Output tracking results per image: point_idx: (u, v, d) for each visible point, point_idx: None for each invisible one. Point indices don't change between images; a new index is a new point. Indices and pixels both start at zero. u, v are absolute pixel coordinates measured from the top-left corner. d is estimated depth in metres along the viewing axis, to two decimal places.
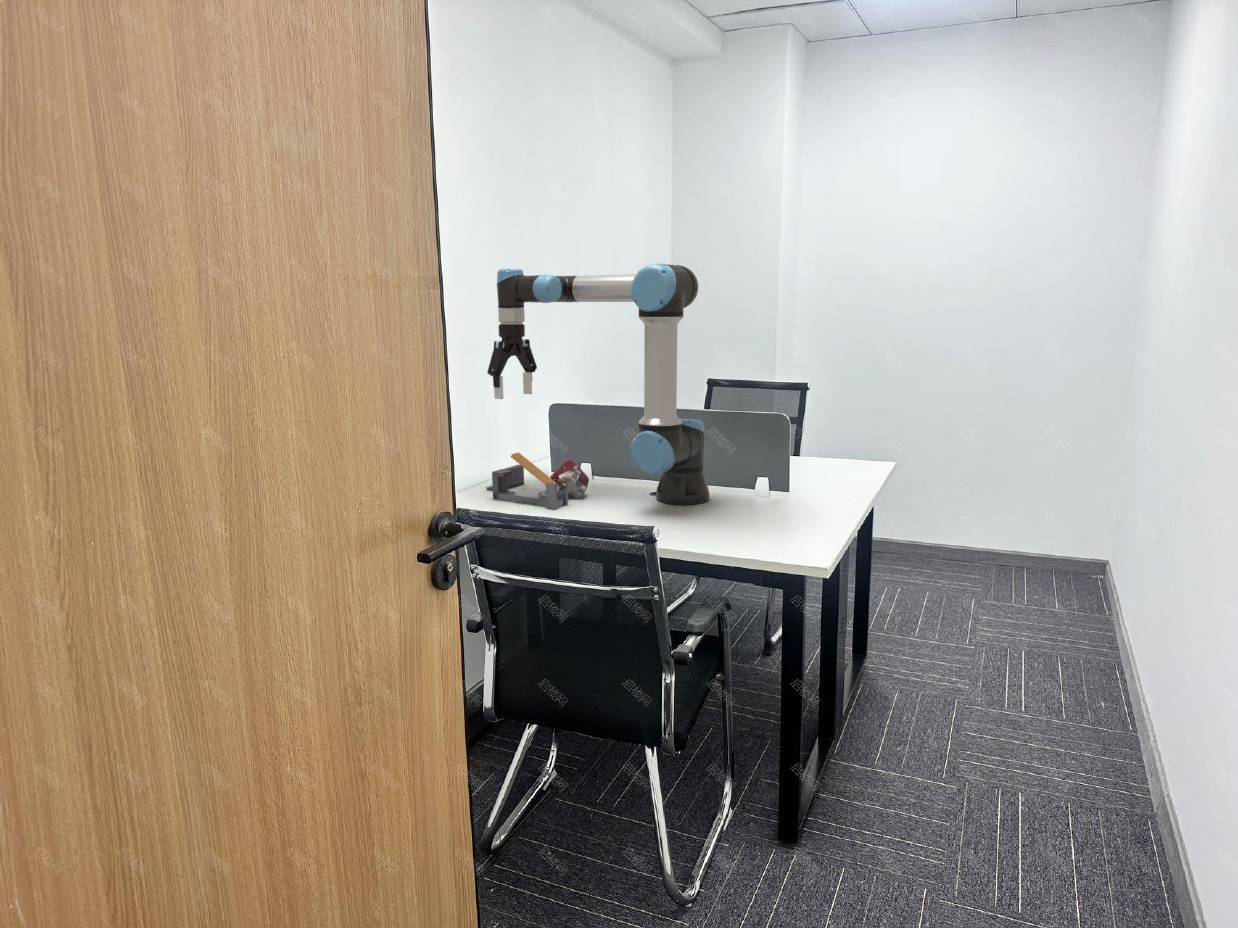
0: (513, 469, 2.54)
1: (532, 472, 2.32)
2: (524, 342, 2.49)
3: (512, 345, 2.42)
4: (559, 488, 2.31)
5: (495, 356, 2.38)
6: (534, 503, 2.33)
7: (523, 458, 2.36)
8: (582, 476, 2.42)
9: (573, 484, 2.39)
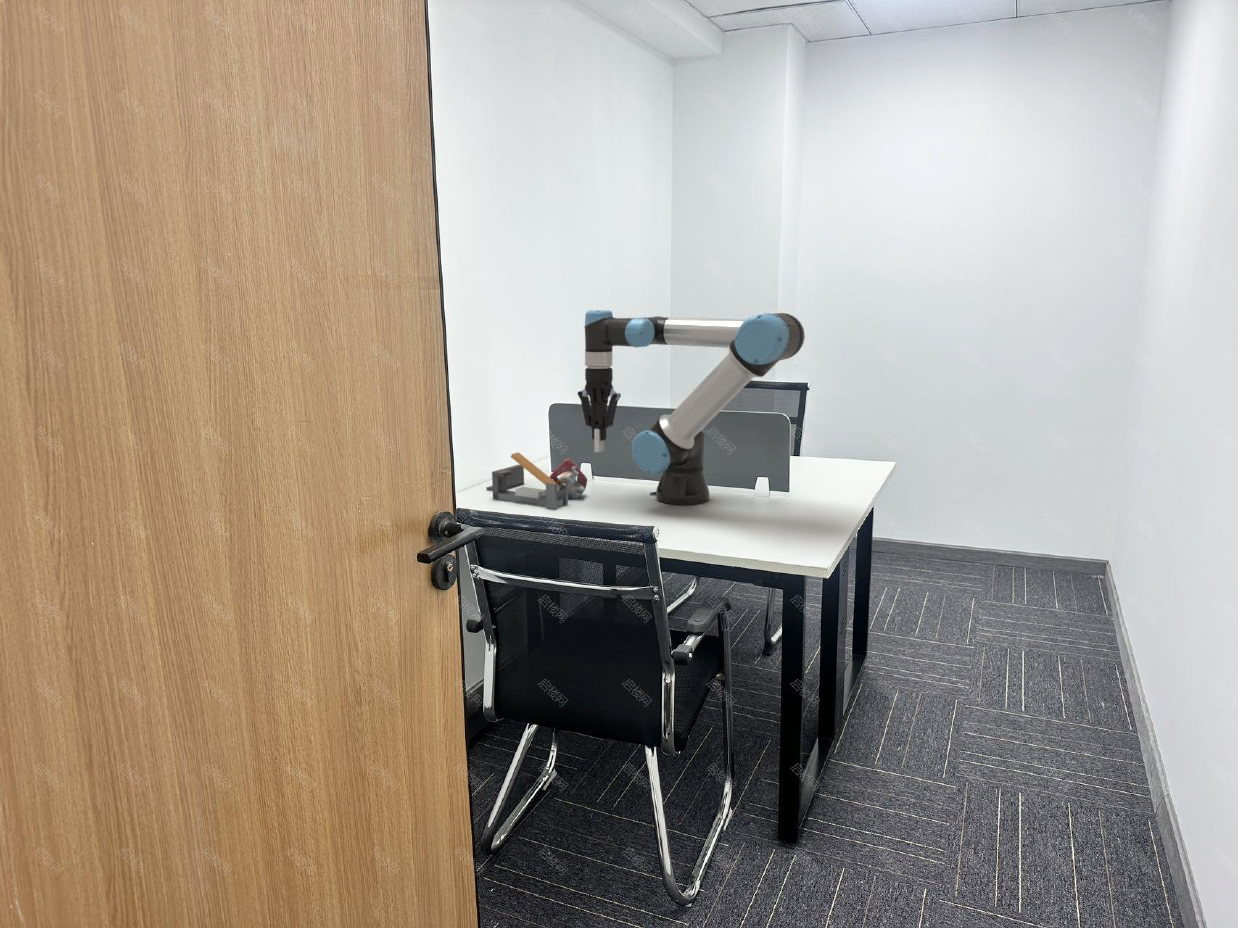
0: (513, 469, 2.54)
1: (532, 472, 2.32)
2: (612, 394, 2.30)
3: None
4: (559, 488, 2.31)
5: None
6: (534, 503, 2.33)
7: (523, 458, 2.36)
8: (580, 477, 2.42)
9: (571, 485, 2.38)
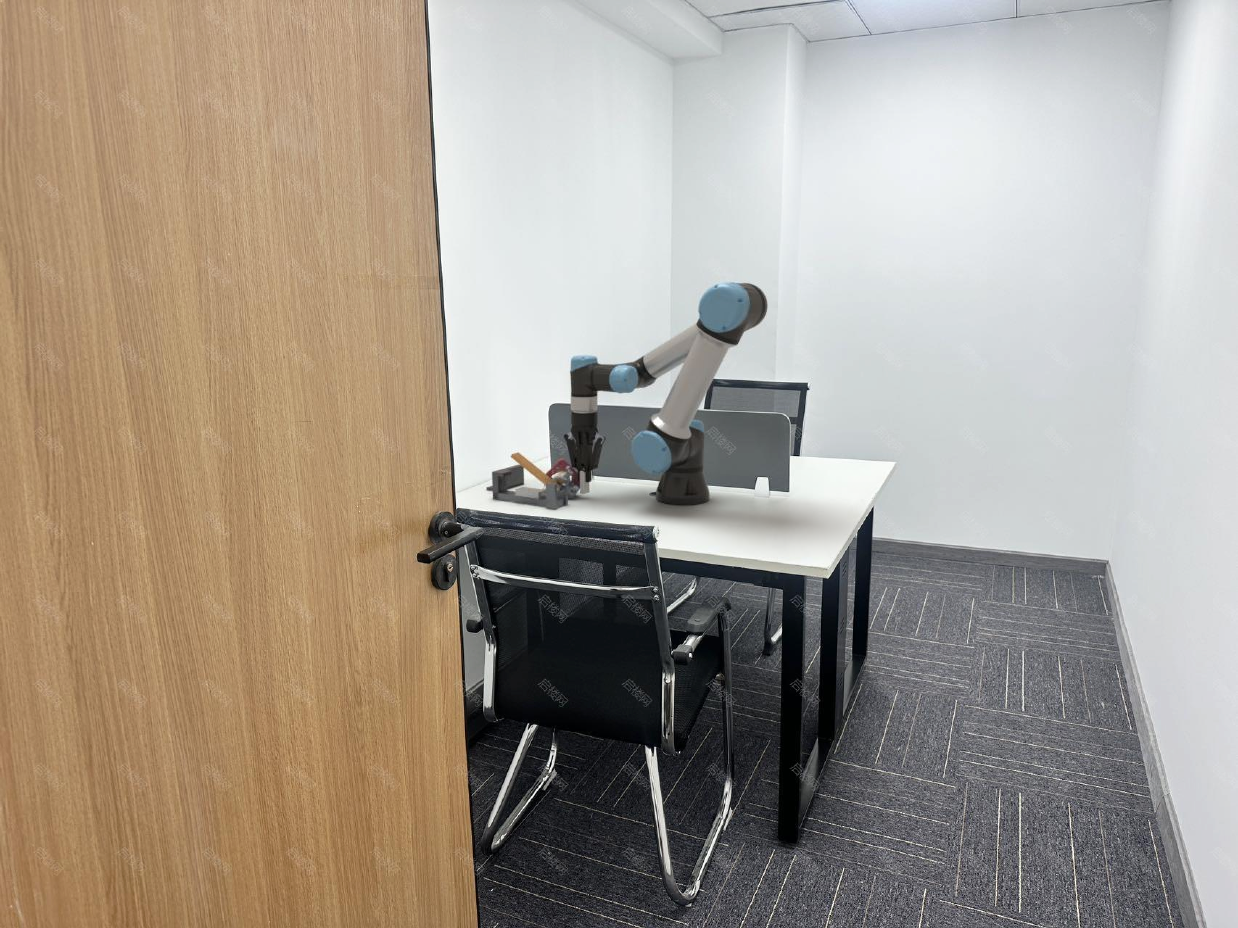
0: (513, 469, 2.54)
1: (532, 472, 2.32)
2: (597, 437, 2.35)
3: None
4: (559, 488, 2.31)
5: None
6: (534, 503, 2.33)
7: (523, 458, 2.36)
8: (575, 476, 2.42)
9: None
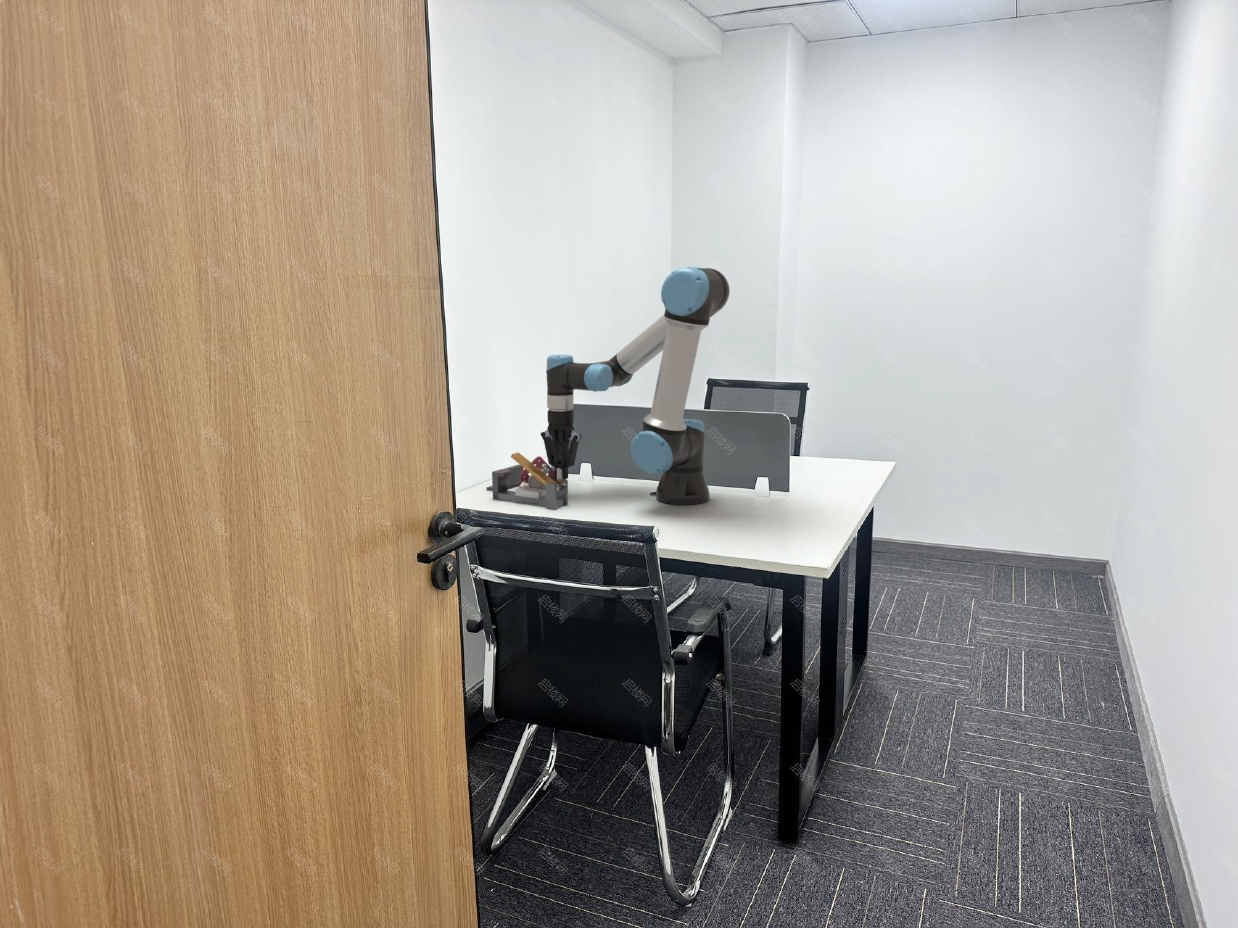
0: (513, 469, 2.54)
1: (532, 472, 2.32)
2: (573, 435, 2.39)
3: None
4: (559, 488, 2.31)
5: None
6: (534, 503, 2.33)
7: (523, 458, 2.36)
8: (551, 474, 2.45)
9: None
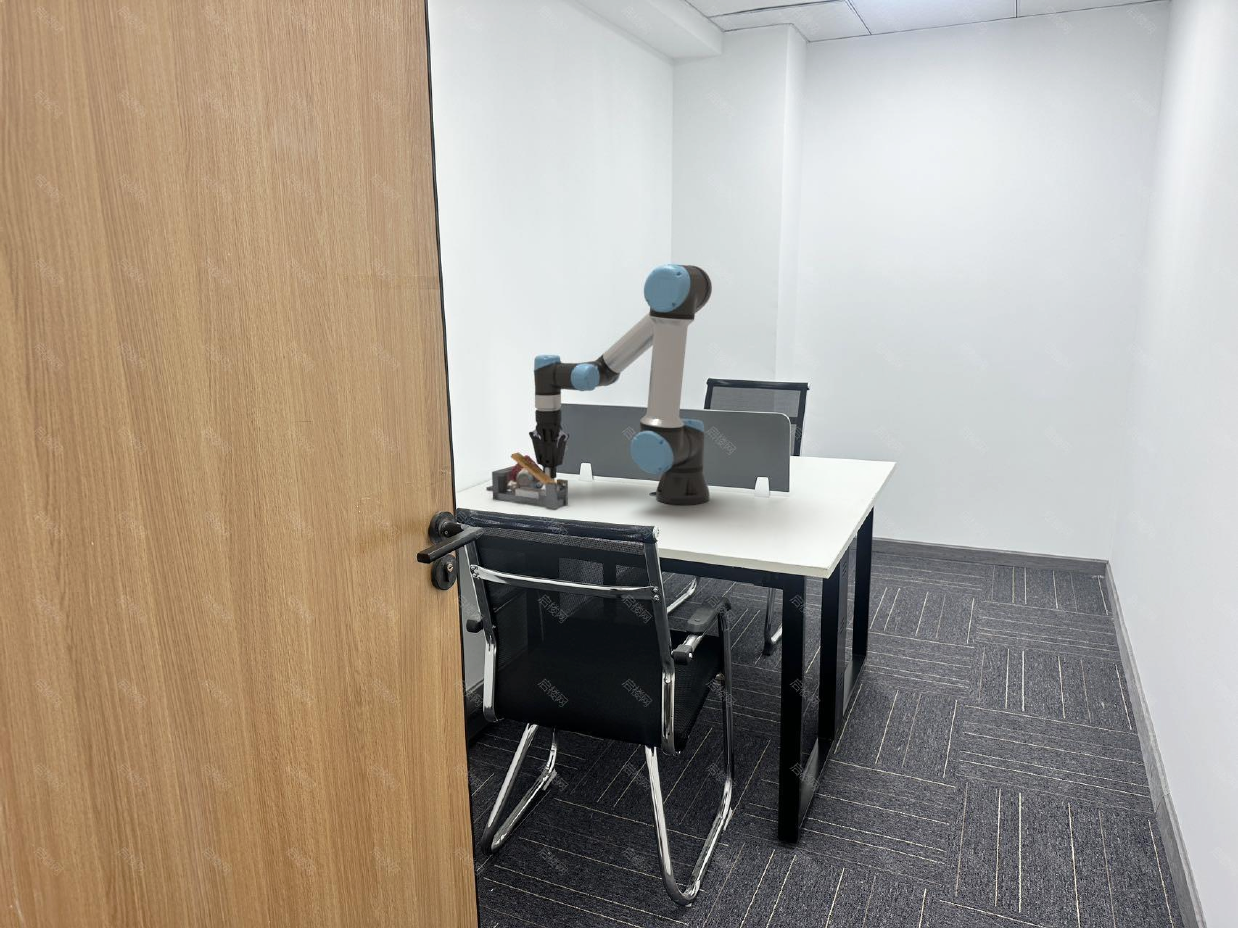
0: None
1: (532, 472, 2.32)
2: (561, 435, 2.41)
3: None
4: (559, 488, 2.31)
5: None
6: (534, 503, 2.33)
7: (523, 458, 2.36)
8: None
9: (530, 480, 2.44)
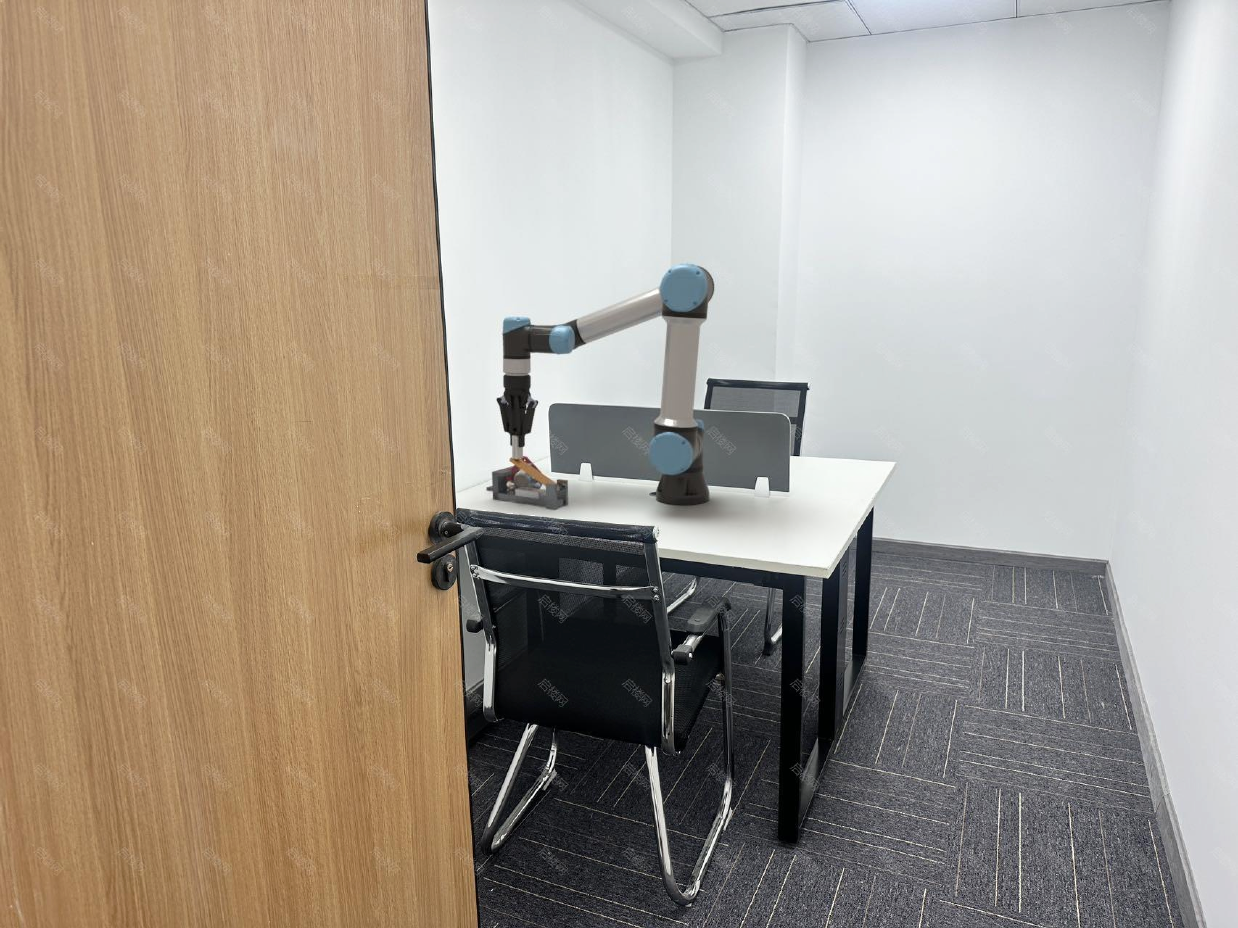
0: None
1: (531, 474, 2.33)
2: (530, 401, 2.30)
3: None
4: (559, 488, 2.31)
5: None
6: (534, 503, 2.33)
7: (522, 461, 2.36)
8: None
9: (527, 481, 2.43)
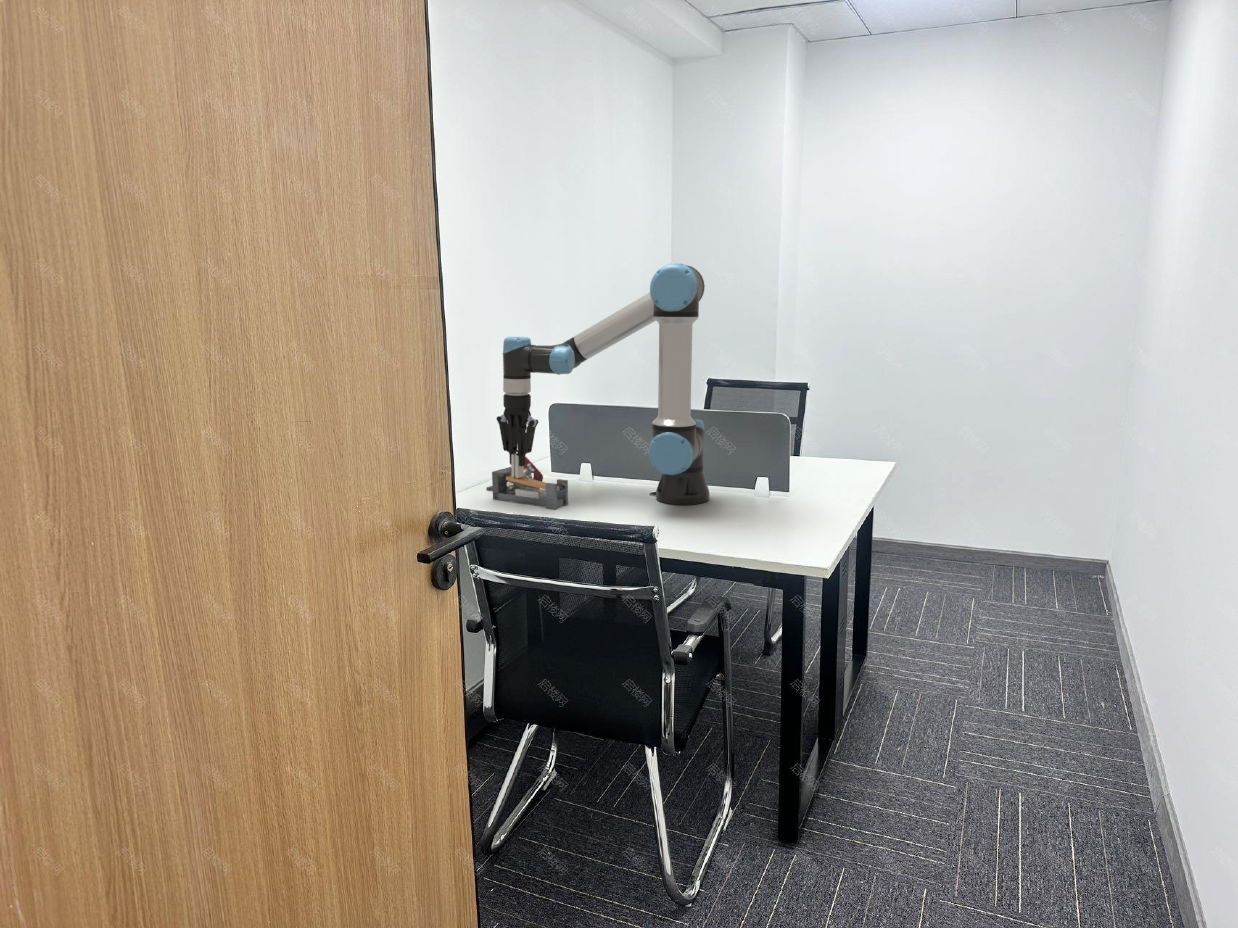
0: None
1: (529, 483, 2.33)
2: (530, 420, 2.31)
3: None
4: (559, 487, 2.31)
5: None
6: (534, 503, 2.33)
7: None
8: (536, 473, 2.46)
9: None
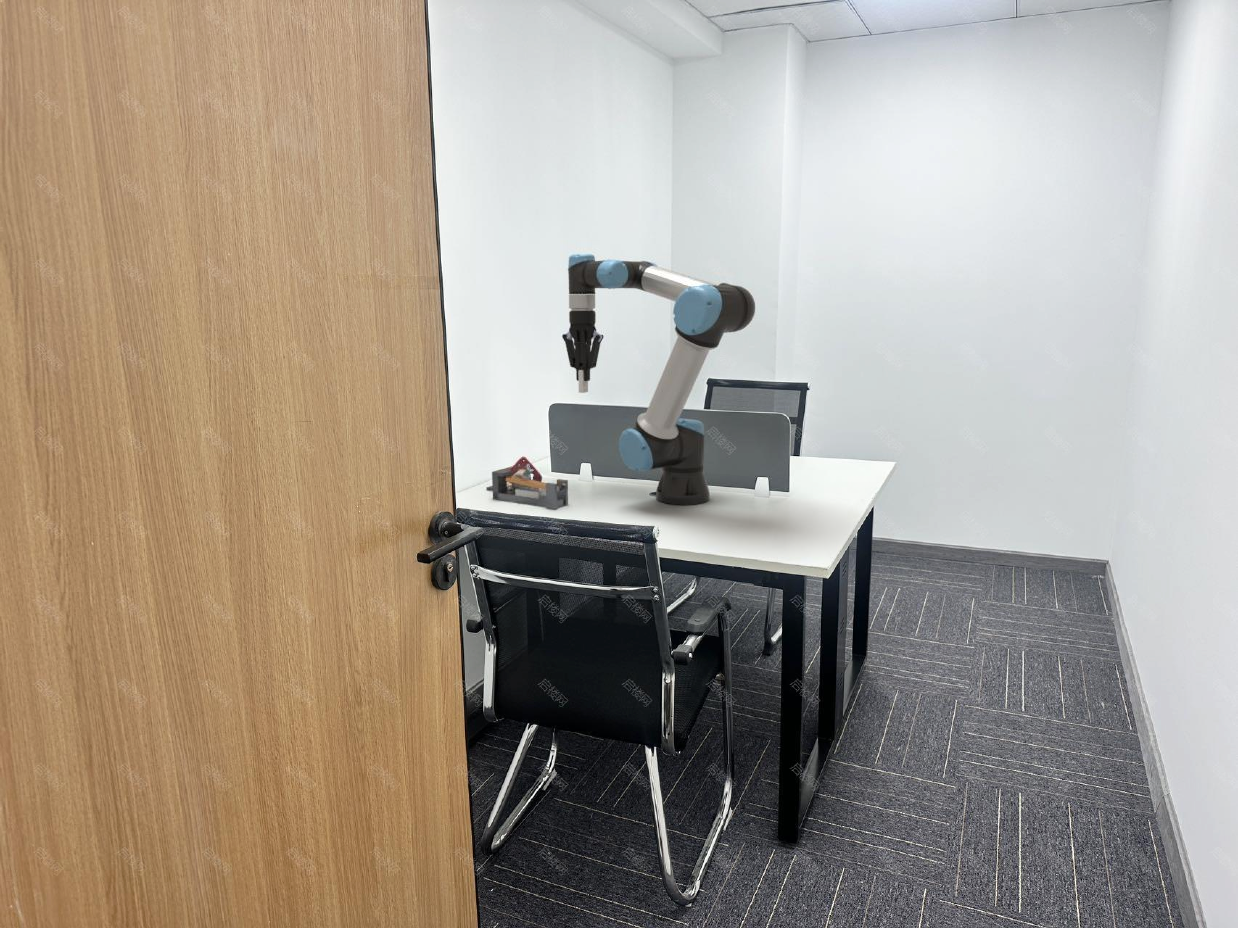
0: None
1: (529, 484, 2.33)
2: (595, 335, 2.39)
3: None
4: (559, 487, 2.31)
5: None
6: (534, 503, 2.33)
7: (518, 477, 2.38)
8: (535, 474, 2.45)
9: None
